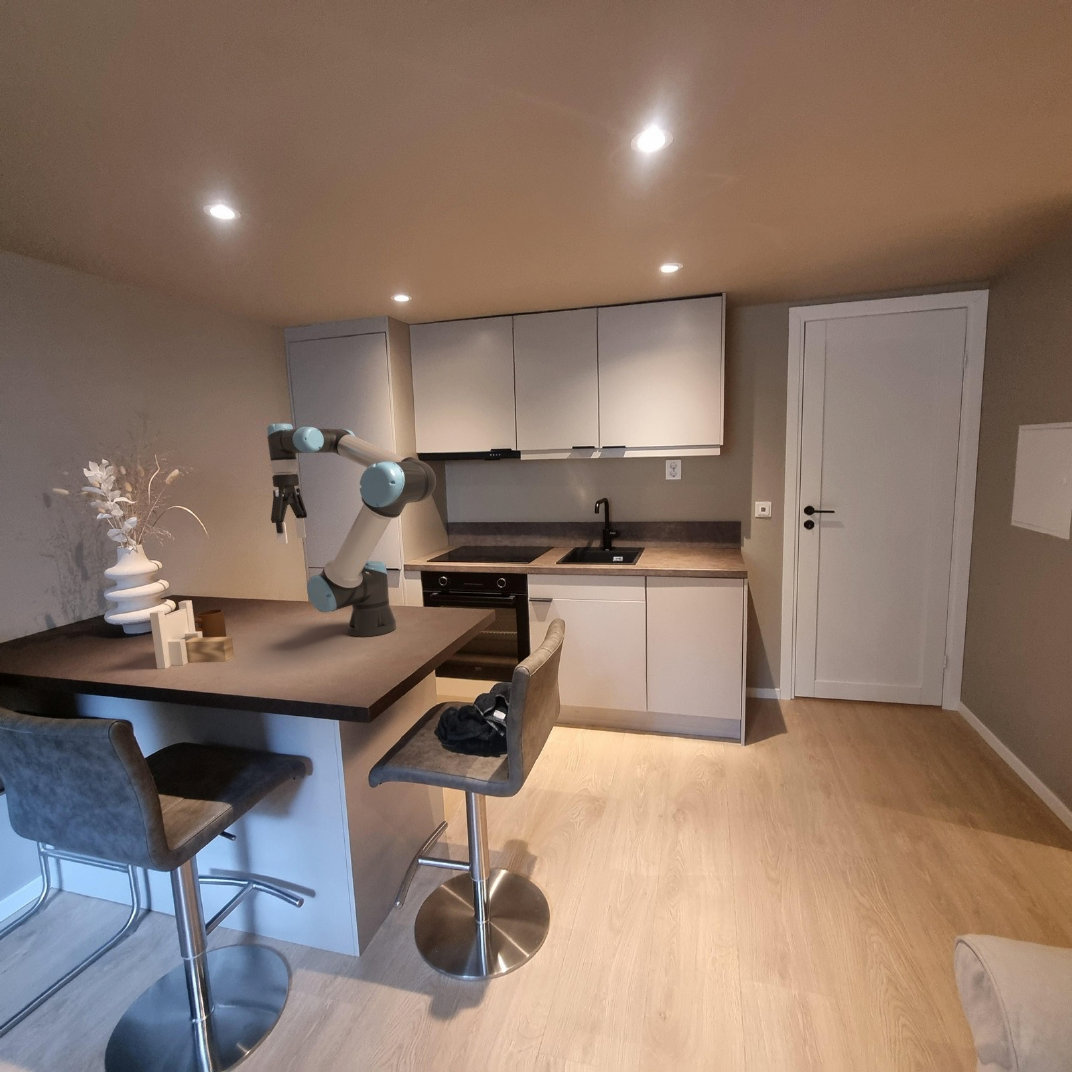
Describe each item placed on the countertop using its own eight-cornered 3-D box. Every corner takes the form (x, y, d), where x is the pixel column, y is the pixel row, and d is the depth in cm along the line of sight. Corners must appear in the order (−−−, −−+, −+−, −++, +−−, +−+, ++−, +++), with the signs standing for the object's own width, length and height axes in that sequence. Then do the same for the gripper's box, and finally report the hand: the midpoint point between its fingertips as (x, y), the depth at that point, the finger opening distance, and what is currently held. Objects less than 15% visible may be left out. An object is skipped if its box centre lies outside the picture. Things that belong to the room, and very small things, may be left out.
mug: (198, 649, 174) (195, 619, 173) (181, 647, 177) (177, 618, 175) (232, 637, 185) (228, 609, 184) (215, 636, 188) (211, 608, 186)
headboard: (209, 651, 171) (203, 600, 169) (177, 668, 158) (170, 612, 155) (190, 651, 172) (183, 600, 170) (157, 668, 158) (149, 613, 156)
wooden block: (234, 656, 166) (231, 635, 165) (225, 661, 162) (223, 639, 161) (188, 657, 167) (185, 636, 166) (179, 662, 163) (176, 640, 162)
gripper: (290, 474, 190) (297, 536, 193) (253, 475, 165) (261, 546, 168) (312, 472, 190) (319, 535, 193) (278, 473, 165) (286, 545, 168)
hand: (292, 540), depth 180 cm, fingers open, 13 cm apart
